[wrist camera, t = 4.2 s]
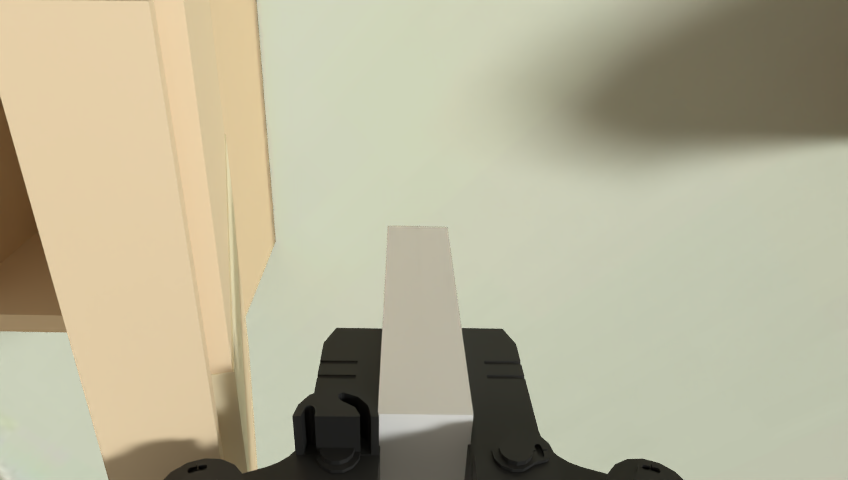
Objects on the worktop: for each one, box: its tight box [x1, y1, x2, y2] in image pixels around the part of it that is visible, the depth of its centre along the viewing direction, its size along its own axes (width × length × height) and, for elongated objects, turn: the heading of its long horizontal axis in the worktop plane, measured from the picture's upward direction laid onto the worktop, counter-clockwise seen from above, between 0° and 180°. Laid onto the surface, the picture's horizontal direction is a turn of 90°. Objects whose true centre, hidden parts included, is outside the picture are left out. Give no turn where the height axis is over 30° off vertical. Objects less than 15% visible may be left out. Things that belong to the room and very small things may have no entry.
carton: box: [0, 0, 276, 332], centre depth 24 cm, size 14×12×8 cm
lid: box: [0, 0, 257, 480], centre depth 15 cm, size 14×13×2 cm
